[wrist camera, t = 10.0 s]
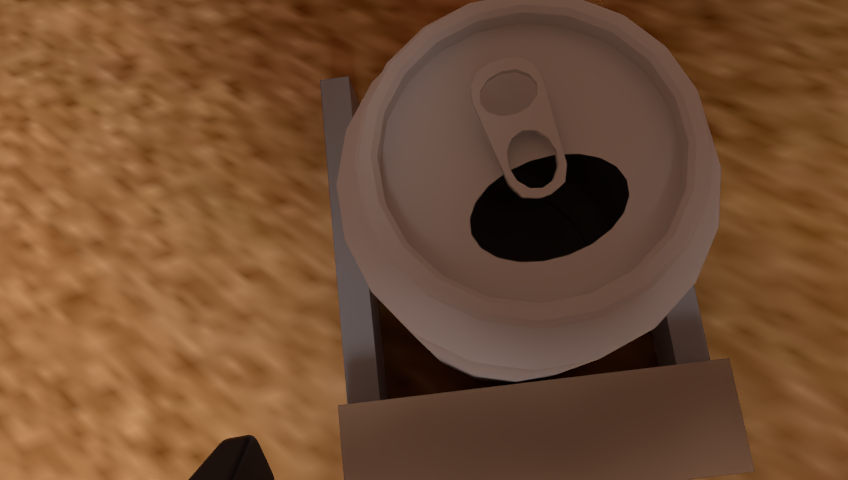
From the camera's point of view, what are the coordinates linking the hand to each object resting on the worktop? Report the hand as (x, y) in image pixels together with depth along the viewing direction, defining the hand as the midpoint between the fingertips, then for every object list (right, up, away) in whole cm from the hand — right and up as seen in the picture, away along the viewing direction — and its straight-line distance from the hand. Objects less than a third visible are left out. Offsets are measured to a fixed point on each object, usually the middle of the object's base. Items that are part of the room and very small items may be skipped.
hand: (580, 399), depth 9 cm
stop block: (+1, -4, +13) cm, 13 cm away
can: (+1, +1, +14) cm, 14 cm away
